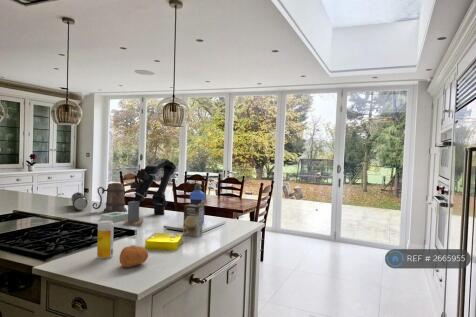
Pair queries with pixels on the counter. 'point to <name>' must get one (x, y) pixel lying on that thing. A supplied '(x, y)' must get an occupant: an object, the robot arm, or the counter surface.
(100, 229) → the white yellow canister
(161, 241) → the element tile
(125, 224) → the pad
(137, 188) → the robot arm
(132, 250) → the potato
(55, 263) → the counter surface
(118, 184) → the tankard
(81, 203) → the muzzle brake
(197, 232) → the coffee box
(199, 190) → the water bottle
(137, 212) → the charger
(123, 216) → the socket block
